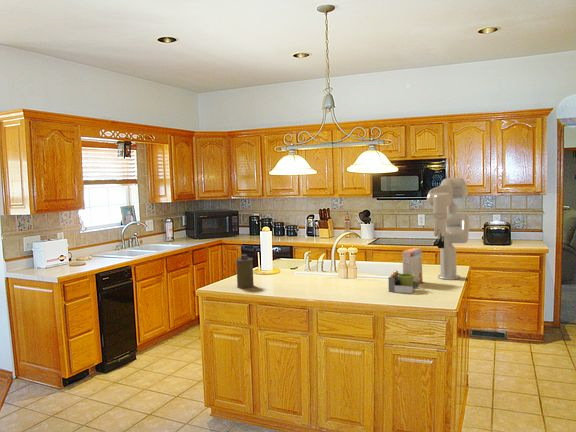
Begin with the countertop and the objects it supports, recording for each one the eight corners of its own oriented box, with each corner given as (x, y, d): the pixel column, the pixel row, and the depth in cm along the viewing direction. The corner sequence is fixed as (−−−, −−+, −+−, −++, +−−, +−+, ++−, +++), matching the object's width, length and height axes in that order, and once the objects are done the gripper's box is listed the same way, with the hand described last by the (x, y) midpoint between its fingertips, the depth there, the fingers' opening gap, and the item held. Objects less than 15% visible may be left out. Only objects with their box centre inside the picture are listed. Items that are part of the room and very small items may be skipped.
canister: (250, 288, 286) (249, 256, 285) (234, 288, 289) (233, 256, 287) (256, 284, 297) (254, 253, 295) (240, 284, 299) (239, 253, 298)
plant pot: (411, 292, 262) (411, 277, 262) (395, 291, 268) (395, 276, 267) (417, 289, 270) (417, 274, 270) (401, 287, 275) (401, 272, 275)
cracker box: (413, 281, 291) (413, 247, 289) (422, 282, 287) (422, 248, 285) (402, 285, 281) (401, 250, 279) (411, 286, 277) (411, 251, 275)
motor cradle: (395, 286, 279) (395, 269, 279) (418, 287, 273) (418, 270, 272) (388, 291, 266) (388, 274, 265) (412, 293, 260) (412, 276, 259)
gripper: (436, 214, 274) (437, 245, 276) (430, 217, 261) (431, 250, 263) (449, 214, 270) (450, 245, 272) (444, 217, 257) (445, 250, 259)
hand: (441, 247), depth 268 cm, fingers closed
